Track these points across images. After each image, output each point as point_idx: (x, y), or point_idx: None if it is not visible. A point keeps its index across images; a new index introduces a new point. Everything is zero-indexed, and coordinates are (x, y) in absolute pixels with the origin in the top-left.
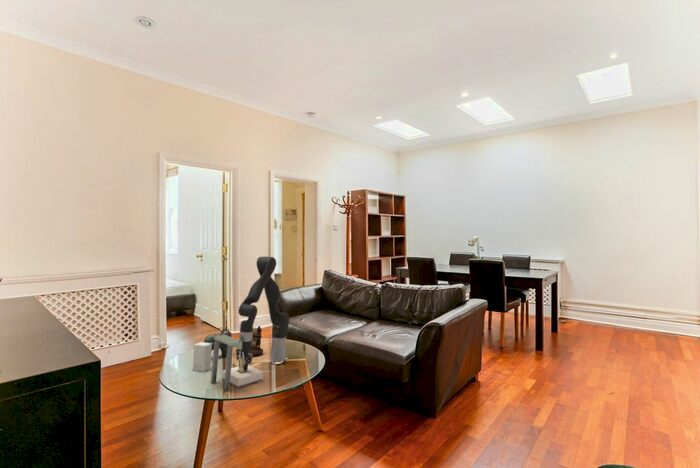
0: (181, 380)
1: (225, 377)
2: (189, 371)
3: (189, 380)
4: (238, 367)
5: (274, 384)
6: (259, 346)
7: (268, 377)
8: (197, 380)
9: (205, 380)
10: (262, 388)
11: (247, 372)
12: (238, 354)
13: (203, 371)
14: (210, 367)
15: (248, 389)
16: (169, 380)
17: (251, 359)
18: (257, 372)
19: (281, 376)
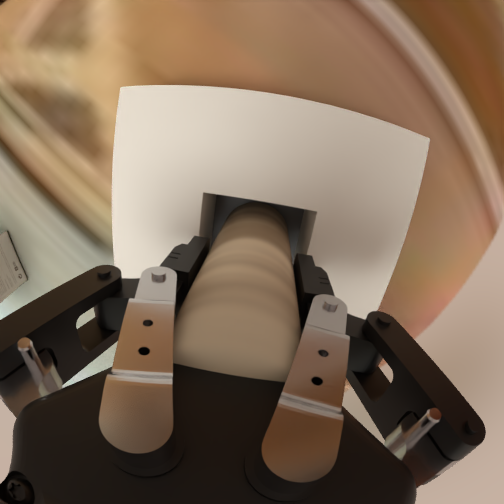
0: (78, 377)
1: None
2: (12, 304)
3: (88, 368)
4: (133, 207)
5: (482, 150)
6: None
7: (383, 54)
8: (100, 358)
9: (116, 346)
10: (457, 244)
11: (317, 248)
12: (76, 356)
13: (25, 281)
14: (3, 234)
15: (398, 304)
16: (66, 386)
17: (427, 365)
18: (401, 184)
19: (428, 6)
